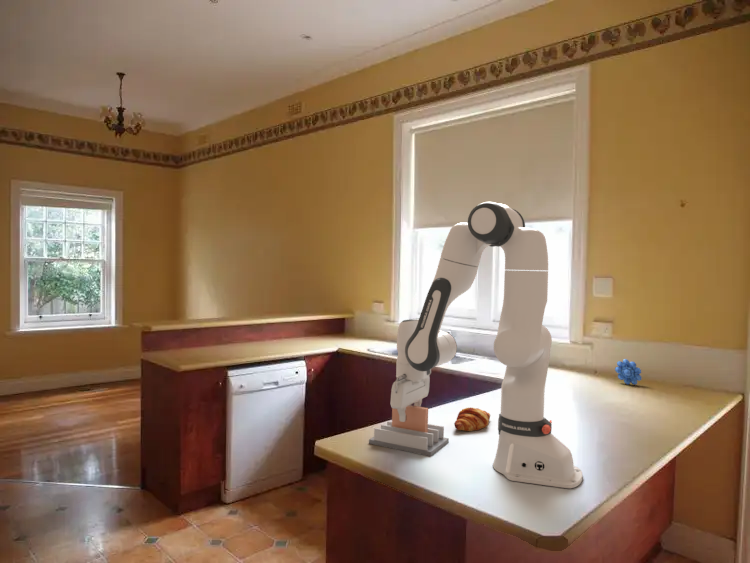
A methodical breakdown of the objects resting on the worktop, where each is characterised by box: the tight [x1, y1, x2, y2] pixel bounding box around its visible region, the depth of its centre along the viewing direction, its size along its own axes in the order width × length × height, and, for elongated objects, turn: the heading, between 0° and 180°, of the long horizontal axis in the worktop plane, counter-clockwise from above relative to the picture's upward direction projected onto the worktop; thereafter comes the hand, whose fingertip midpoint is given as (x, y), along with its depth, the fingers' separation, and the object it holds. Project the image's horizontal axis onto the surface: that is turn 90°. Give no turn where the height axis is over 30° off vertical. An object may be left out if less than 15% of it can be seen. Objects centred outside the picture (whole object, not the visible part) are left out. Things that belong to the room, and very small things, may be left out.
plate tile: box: [391, 404, 429, 433], centre depth 158 cm, size 11×2×10 cm, turn 61°
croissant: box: [453, 407, 491, 432], centre depth 177 cm, size 21×10×8 cm, turn 140°
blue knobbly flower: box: [614, 358, 642, 386], centre depth 248 cm, size 12×7×12 cm, turn 54°
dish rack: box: [368, 420, 449, 457], centre depth 159 cm, size 20×14×5 cm
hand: (409, 417), depth 158 cm, fingers open, 8 cm apart
